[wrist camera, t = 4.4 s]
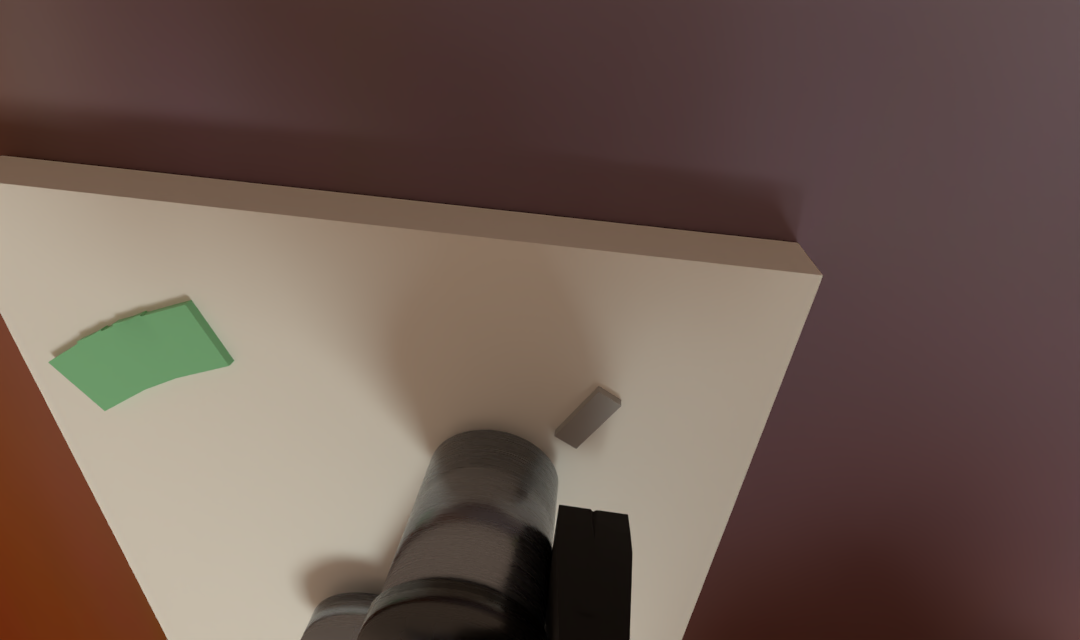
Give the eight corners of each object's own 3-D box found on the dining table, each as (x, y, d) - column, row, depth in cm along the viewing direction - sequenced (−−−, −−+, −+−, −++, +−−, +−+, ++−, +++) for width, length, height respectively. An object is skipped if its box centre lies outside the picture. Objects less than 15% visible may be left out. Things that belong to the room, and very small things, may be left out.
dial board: (797, 242, 11) (827, 280, 10) (642, 687, 20) (645, 740, 19) (2, 155, 12) (-81, 178, 10) (205, 621, 21) (175, 667, 20)
